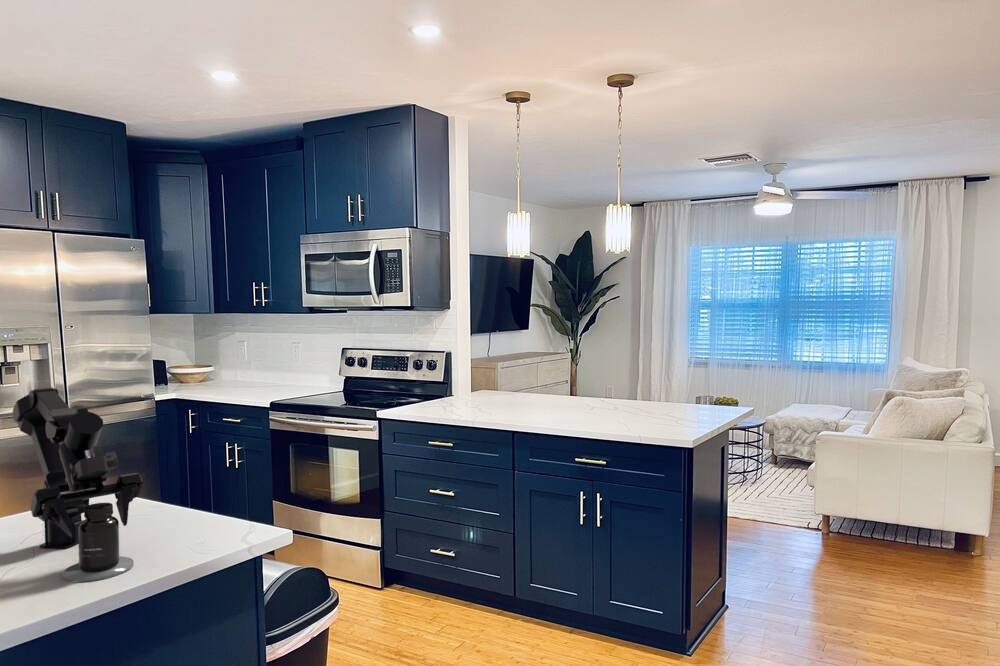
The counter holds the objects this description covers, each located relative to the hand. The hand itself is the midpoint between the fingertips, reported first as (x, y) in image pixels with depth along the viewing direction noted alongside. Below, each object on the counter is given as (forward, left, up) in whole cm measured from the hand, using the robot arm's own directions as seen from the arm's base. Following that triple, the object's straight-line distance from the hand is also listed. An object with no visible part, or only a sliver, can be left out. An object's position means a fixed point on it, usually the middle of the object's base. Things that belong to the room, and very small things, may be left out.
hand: (99, 530), depth 133 cm
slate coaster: (-1, +1, -8) cm, 8 cm away
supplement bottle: (-1, +1, -8) cm, 8 cm away
